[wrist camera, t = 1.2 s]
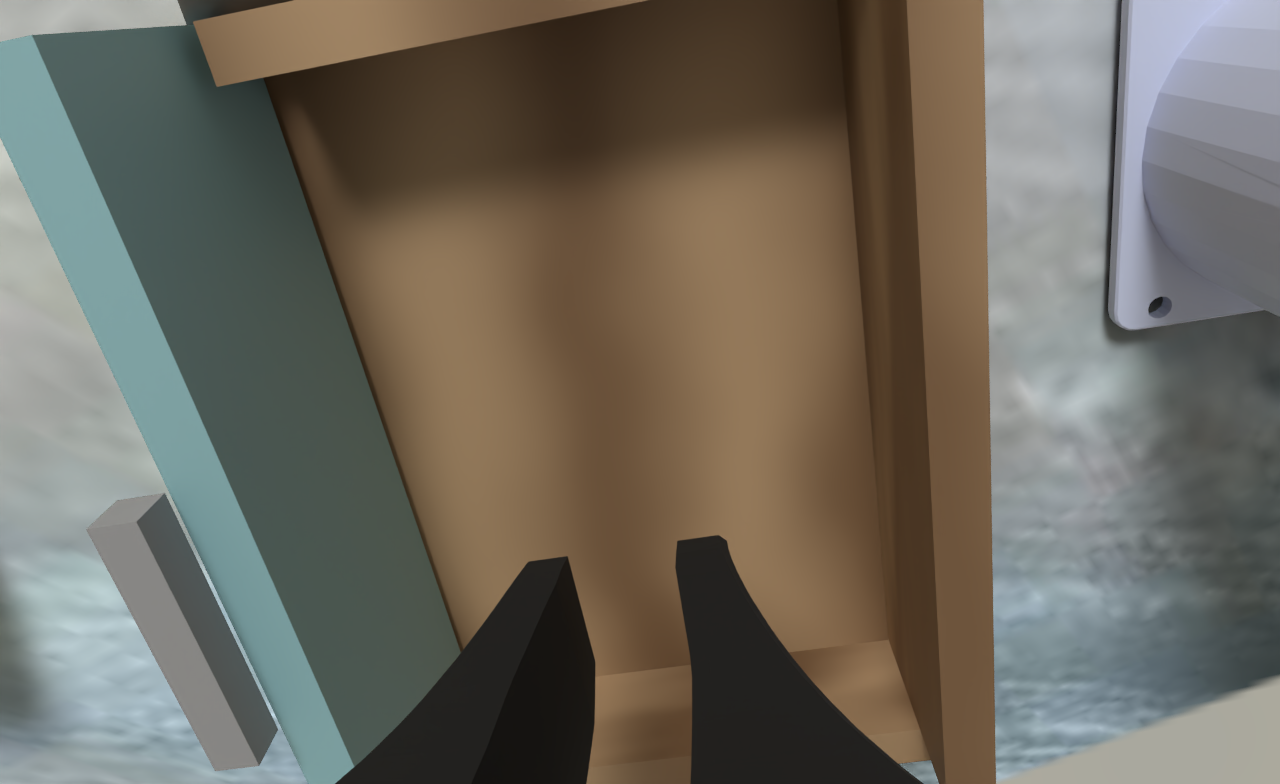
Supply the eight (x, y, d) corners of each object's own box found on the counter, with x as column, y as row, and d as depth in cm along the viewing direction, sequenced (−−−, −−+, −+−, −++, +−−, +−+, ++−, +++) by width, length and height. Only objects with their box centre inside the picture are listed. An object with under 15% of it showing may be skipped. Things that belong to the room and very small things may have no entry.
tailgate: (243, 21, 16) (-21, 38, 10) (486, 727, 24) (423, 993, 17) (154, 39, 16) (-161, 68, 10) (423, 734, 24) (338, 1000, 17)
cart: (857, -170, 17) (978, -273, 10) (911, 647, 25) (997, 870, 19) (225, -34, 18) (-16, -50, 11) (478, 701, 26) (420, 927, 20)
